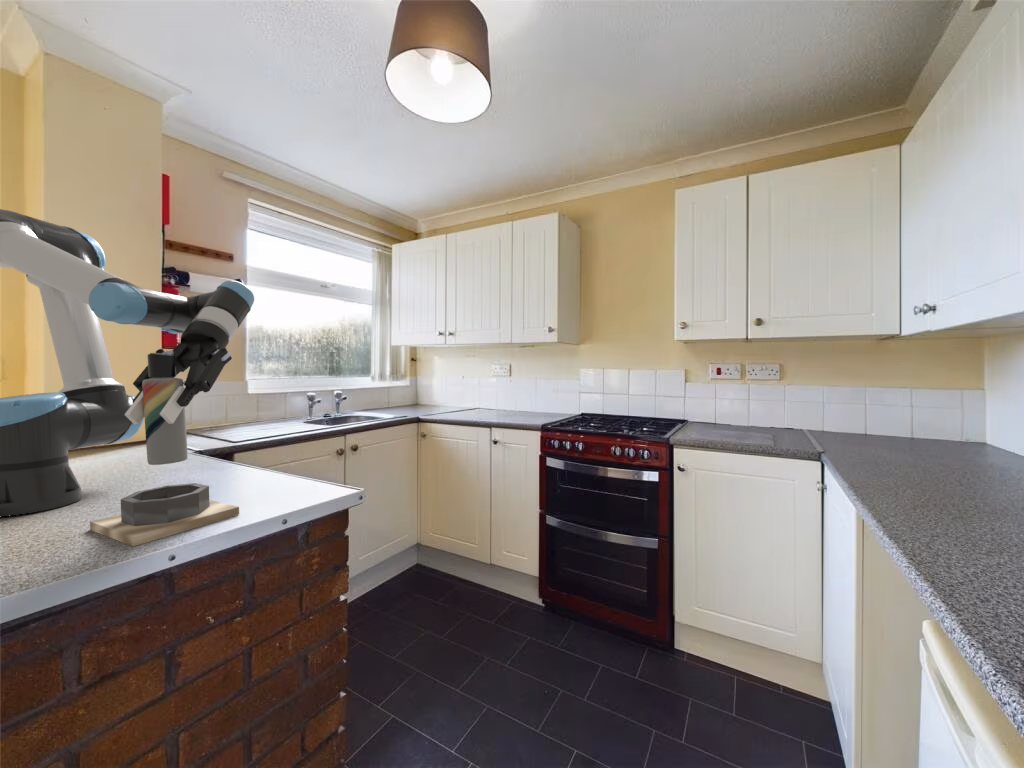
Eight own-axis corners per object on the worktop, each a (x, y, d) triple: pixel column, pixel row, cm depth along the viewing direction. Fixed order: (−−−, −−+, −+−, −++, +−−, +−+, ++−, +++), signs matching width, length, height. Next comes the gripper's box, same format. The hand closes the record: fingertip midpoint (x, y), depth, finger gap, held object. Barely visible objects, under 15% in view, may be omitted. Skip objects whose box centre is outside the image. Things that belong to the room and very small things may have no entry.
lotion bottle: (169, 458, 78) (163, 353, 78) (195, 458, 78) (189, 352, 77) (138, 465, 73) (131, 352, 72) (166, 465, 72) (159, 351, 71)
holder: (90, 529, 72) (88, 498, 72) (194, 503, 86) (193, 477, 86) (133, 546, 65) (131, 511, 65) (239, 514, 79) (238, 486, 79)
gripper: (261, 345, 90) (213, 430, 74) (175, 347, 89) (109, 433, 73) (245, 318, 85) (191, 403, 69) (154, 319, 84) (78, 406, 68)
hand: (149, 419), depth 71 cm, fingers closed on lotion bottle, 5 cm apart
